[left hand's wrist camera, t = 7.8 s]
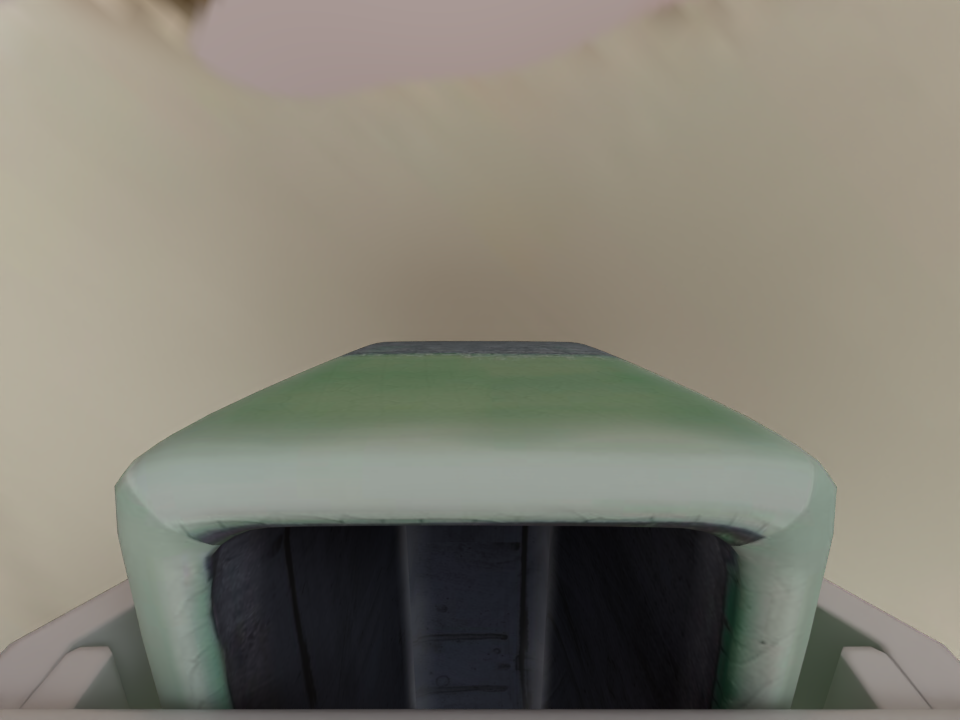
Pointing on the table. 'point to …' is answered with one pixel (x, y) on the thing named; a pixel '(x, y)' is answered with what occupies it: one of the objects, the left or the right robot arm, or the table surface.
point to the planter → (475, 540)
